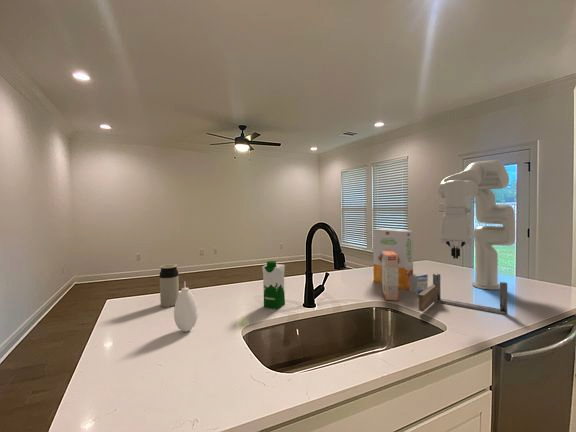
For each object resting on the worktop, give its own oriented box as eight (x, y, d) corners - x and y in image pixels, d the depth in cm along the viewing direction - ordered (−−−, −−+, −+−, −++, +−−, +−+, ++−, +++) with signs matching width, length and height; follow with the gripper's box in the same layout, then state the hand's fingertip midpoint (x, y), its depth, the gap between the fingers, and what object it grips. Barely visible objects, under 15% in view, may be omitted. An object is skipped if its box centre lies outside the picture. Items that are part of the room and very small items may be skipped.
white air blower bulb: (184, 337, 100) (182, 284, 100) (170, 332, 104) (168, 282, 104) (202, 328, 107) (200, 279, 106) (188, 324, 111) (186, 277, 111)
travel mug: (182, 304, 135) (181, 265, 135) (165, 308, 130) (164, 268, 129) (174, 300, 141) (173, 263, 140) (157, 305, 135) (156, 266, 135)
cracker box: (399, 301, 133) (398, 255, 132) (385, 300, 134) (384, 255, 133) (394, 292, 147) (393, 250, 146) (381, 291, 148) (381, 250, 147)
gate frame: (434, 299, 135) (434, 273, 134) (508, 312, 117) (507, 282, 116) (432, 301, 132) (432, 274, 132) (506, 314, 114) (506, 284, 113)
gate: (437, 299, 130) (437, 284, 130) (423, 311, 115) (423, 295, 115) (433, 298, 131) (432, 283, 131) (418, 310, 116) (418, 294, 116)
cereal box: (413, 288, 153) (412, 230, 152) (404, 289, 151) (404, 231, 150) (381, 279, 173) (381, 228, 173) (373, 280, 171) (372, 229, 170)
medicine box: (417, 294, 143) (417, 276, 143) (409, 291, 147) (409, 274, 147) (428, 291, 147) (428, 274, 146) (420, 289, 151) (420, 272, 150)
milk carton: (260, 307, 128) (259, 262, 128) (270, 301, 136) (269, 258, 136) (278, 310, 125) (277, 263, 124) (287, 303, 133) (286, 259, 132)
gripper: (477, 211, 115) (477, 257, 116) (435, 211, 123) (435, 255, 123) (478, 211, 109) (478, 261, 109) (433, 212, 116) (433, 258, 117)
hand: (455, 258), depth 116 cm, fingers closed
